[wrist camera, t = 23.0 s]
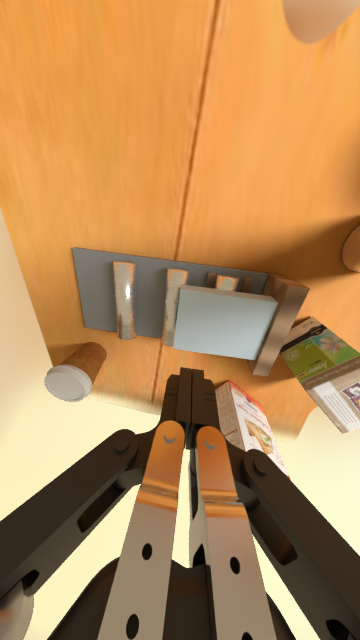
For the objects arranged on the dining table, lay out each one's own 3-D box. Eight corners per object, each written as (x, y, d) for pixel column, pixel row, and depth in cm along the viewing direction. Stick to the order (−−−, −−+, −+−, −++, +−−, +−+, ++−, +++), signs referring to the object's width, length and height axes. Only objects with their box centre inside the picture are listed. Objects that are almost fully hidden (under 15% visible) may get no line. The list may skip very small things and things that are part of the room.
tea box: (269, 340, 41) (305, 392, 28) (312, 314, 37) (376, 360, 24) (300, 376, 45) (343, 436, 32) (341, 357, 41) (409, 416, 28)
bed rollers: (118, 259, 34) (109, 262, 30) (189, 268, 34) (188, 273, 30) (121, 329, 41) (114, 338, 38) (179, 337, 41) (178, 347, 37)
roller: (222, 347, 40) (214, 355, 37) (207, 339, 42) (198, 346, 39) (242, 277, 32) (233, 280, 29) (223, 272, 34) (213, 275, 31)
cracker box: (262, 403, 51) (301, 503, 32) (245, 412, 53) (273, 510, 34) (229, 378, 47) (252, 474, 29) (213, 389, 49) (224, 484, 31)
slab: (181, 284, 31) (180, 289, 28) (271, 296, 31) (278, 302, 28) (174, 340, 36) (173, 348, 34) (250, 350, 36) (255, 360, 33)
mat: (75, 247, 34) (72, 247, 33) (266, 272, 34) (268, 274, 33) (87, 325, 43) (85, 327, 42) (240, 347, 42) (241, 349, 41)
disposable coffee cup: (92, 369, 49) (64, 407, 39) (69, 343, 46) (32, 378, 35) (119, 359, 47) (97, 397, 36) (98, 332, 43) (66, 365, 33)
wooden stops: (209, 265, 34) (213, 275, 26) (282, 275, 34) (309, 288, 26) (194, 340, 42) (195, 366, 34) (253, 349, 42) (267, 376, 34)
